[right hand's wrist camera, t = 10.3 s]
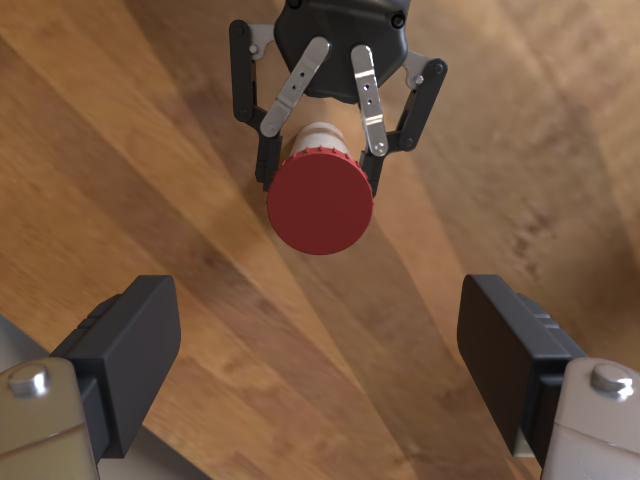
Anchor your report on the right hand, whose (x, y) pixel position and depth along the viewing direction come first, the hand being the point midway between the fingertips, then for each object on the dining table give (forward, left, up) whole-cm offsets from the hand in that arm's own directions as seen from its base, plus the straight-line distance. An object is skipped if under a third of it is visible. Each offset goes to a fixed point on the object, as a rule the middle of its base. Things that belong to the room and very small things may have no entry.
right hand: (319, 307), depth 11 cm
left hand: (-1, +2, -20) cm, 21 cm away
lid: (0, 0, -10) cm, 10 cm away
